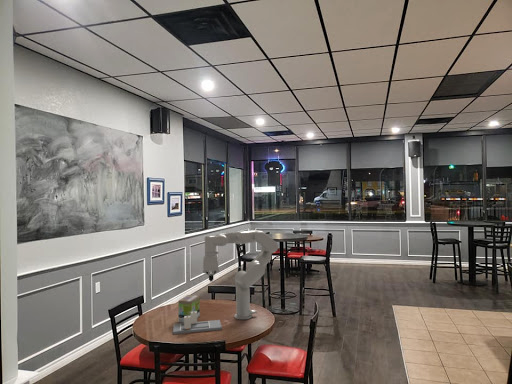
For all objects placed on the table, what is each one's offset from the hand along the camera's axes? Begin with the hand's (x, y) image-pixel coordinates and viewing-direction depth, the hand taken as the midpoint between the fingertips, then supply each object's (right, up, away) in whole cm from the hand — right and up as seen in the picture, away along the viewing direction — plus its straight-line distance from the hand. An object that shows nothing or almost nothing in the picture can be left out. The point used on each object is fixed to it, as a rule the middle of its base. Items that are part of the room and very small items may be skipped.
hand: (211, 281), depth 237 cm
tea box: (-16, -28, +5) cm, 33 cm away
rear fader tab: (-10, -25, -8) cm, 28 cm away
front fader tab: (-13, -25, -17) cm, 33 cm away
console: (-7, -27, -12) cm, 30 cm away
